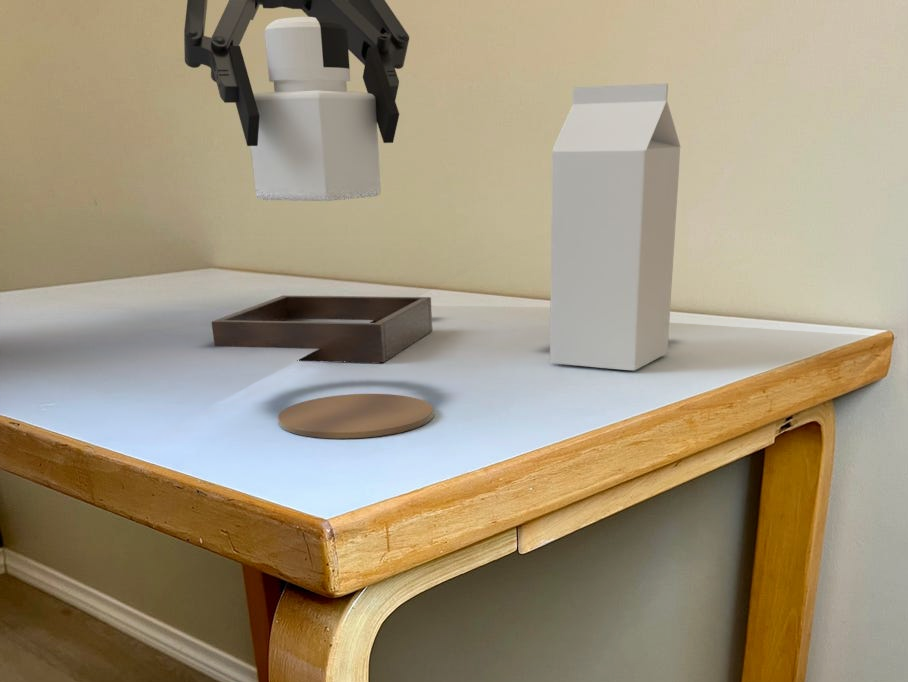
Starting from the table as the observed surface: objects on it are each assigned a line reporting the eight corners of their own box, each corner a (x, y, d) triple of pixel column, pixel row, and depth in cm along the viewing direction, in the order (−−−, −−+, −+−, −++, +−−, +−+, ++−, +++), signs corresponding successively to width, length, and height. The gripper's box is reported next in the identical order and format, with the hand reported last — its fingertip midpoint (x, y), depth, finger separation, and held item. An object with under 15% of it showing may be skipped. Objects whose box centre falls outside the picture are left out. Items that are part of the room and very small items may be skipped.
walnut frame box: (216, 358, 83) (210, 321, 82) (285, 328, 96) (282, 295, 95) (383, 363, 80) (380, 324, 79) (432, 331, 93) (431, 297, 92)
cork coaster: (252, 435, 62) (251, 428, 62) (313, 397, 71) (312, 391, 70) (408, 441, 60) (407, 435, 60) (450, 401, 68) (450, 396, 68)
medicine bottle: (311, 194, 83) (297, 25, 78) (382, 195, 80) (373, 19, 75) (254, 199, 78) (234, 17, 72) (328, 201, 75) (313, 11, 69)
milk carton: (635, 373, 75) (649, 82, 66) (549, 365, 78) (552, 86, 70) (667, 355, 81) (684, 84, 72) (586, 349, 84) (593, 88, 75)
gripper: (383, -41, 87) (453, 164, 81) (114, -52, 80) (169, 173, 74) (399, -130, 80) (477, 86, 74) (106, -151, 73) (166, 88, 67)
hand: (324, 130), depth 74 cm, fingers closed on medicine bottle, 10 cm apart
